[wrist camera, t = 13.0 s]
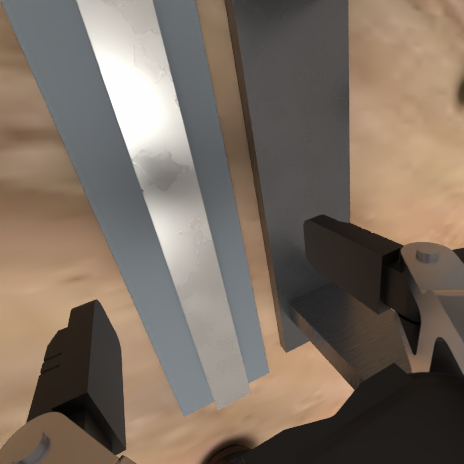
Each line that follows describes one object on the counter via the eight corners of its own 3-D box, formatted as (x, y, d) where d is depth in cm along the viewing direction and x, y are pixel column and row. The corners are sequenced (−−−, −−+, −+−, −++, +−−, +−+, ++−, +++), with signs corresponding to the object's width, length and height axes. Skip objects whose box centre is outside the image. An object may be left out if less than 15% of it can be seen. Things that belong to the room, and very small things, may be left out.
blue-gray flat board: (-103, -242, 10) (-115, -261, 9) (148, -214, 12) (149, -229, 12) (182, 411, 26) (184, 416, 25) (266, 367, 28) (269, 372, 28)
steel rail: (30, -130, 11) (5, -206, 9) (105, -128, 12) (103, -197, 9) (207, 380, 25) (217, 410, 22) (237, 365, 26) (250, 392, 23)
